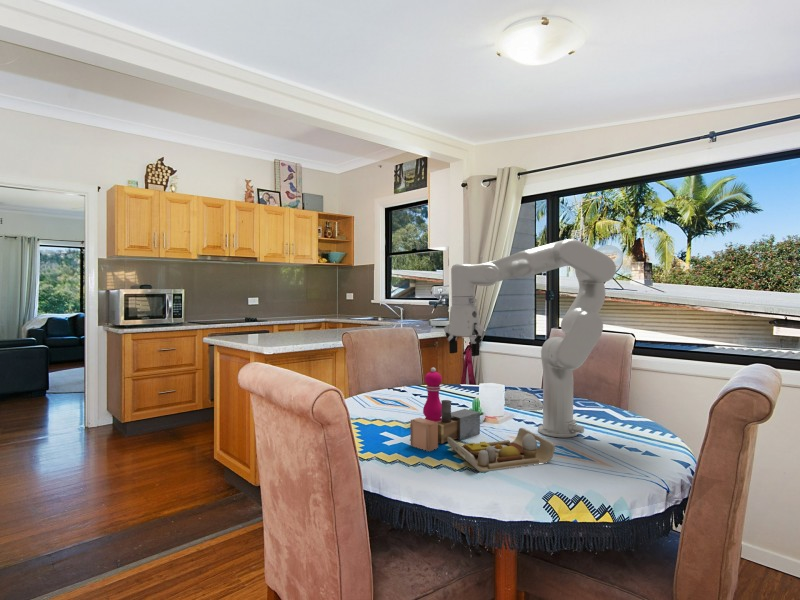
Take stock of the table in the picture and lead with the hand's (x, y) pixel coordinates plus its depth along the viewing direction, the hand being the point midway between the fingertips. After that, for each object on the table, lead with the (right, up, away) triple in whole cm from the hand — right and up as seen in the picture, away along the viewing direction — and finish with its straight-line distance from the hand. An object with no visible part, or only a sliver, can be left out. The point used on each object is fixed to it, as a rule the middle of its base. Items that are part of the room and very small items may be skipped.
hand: (464, 354), depth 154 cm
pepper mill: (-9, -26, +13) cm, 31 cm away
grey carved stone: (+28, -26, +42) cm, 57 cm away
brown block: (-14, -27, -12) cm, 32 cm away
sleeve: (-1, -26, 0) cm, 26 cm away
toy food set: (+7, -27, -20) cm, 35 cm away
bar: (-4, -26, -3) cm, 26 cm away
